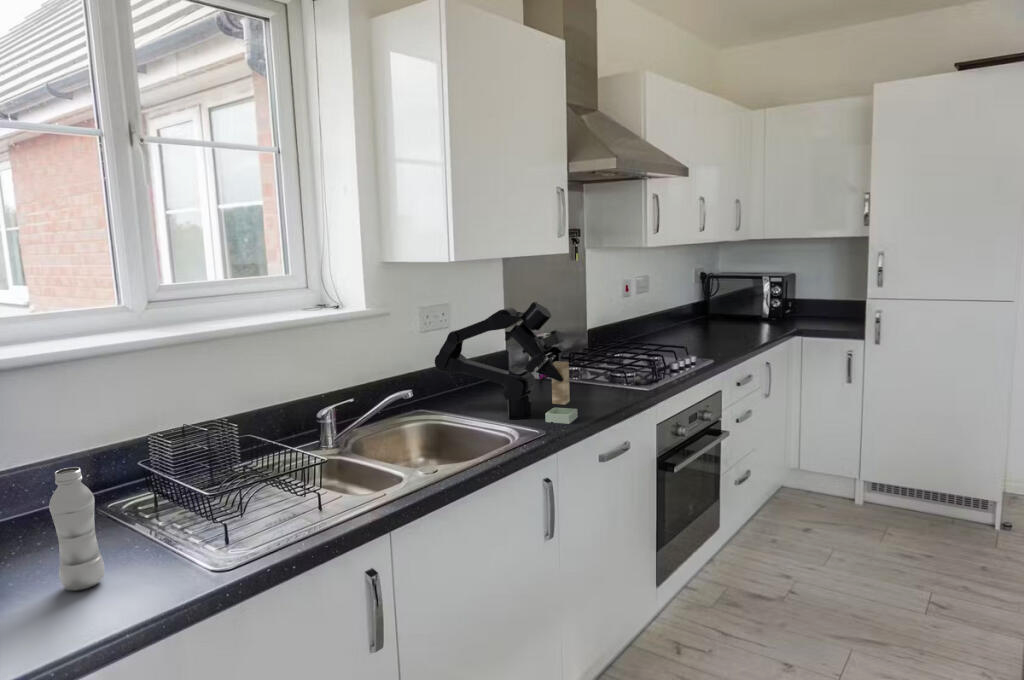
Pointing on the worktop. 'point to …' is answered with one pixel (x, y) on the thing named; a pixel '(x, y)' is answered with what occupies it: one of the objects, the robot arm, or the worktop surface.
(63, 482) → the plastic bottle
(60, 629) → the worktop surface
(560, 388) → the tan wooden block
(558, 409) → the open square box
